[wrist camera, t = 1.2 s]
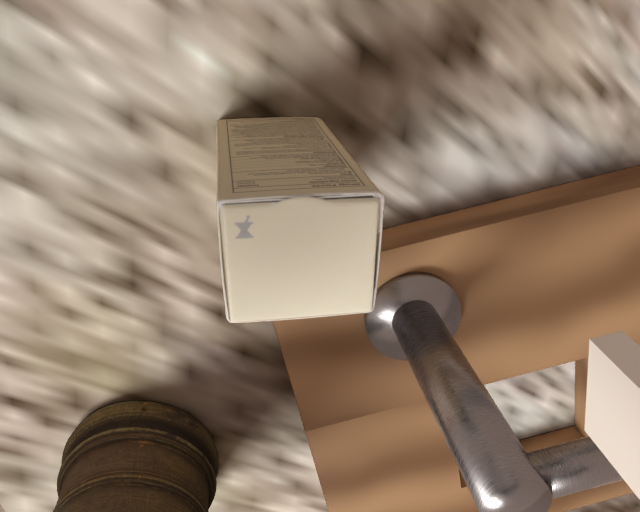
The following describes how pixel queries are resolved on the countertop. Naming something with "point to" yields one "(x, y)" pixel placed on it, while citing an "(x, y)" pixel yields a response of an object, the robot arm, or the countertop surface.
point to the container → (138, 462)
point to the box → (294, 222)
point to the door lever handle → (474, 404)
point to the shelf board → (470, 338)
